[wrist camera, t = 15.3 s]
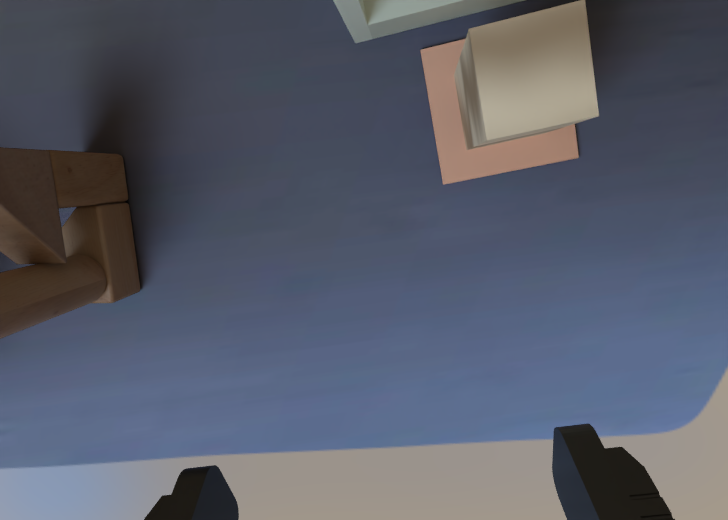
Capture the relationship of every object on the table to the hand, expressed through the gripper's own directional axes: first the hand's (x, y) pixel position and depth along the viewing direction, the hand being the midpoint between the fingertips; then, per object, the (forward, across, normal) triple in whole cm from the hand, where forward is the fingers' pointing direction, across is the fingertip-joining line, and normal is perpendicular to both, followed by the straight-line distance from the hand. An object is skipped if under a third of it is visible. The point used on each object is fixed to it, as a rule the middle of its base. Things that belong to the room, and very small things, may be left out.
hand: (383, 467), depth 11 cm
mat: (+25, -9, -2) cm, 27 cm away
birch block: (+25, -9, -2) cm, 26 cm away
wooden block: (+26, +21, +2) cm, 33 cm away
